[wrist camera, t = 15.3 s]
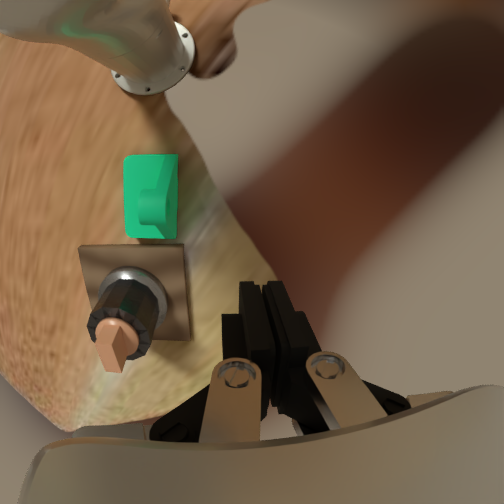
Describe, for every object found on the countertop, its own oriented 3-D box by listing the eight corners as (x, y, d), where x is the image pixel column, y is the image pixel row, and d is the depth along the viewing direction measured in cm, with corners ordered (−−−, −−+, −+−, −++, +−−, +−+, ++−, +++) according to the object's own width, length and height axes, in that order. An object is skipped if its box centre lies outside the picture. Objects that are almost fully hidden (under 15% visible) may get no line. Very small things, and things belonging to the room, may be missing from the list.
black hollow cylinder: (96, 265, 40) (70, 297, 31) (164, 265, 42) (151, 300, 33) (109, 324, 45) (93, 361, 36) (172, 327, 46) (164, 368, 37)
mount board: (81, 245, 40) (77, 248, 39) (183, 243, 42) (182, 247, 41) (102, 331, 47) (100, 336, 46) (190, 335, 49) (190, 340, 48)
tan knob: (101, 300, 36) (79, 337, 28) (140, 301, 37) (125, 341, 29) (111, 334, 39) (94, 373, 31) (148, 336, 39) (136, 377, 31)
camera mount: (129, 154, 36) (102, 160, 27) (179, 153, 37) (165, 158, 28) (130, 231, 41) (108, 258, 31) (177, 233, 42) (166, 261, 32)
